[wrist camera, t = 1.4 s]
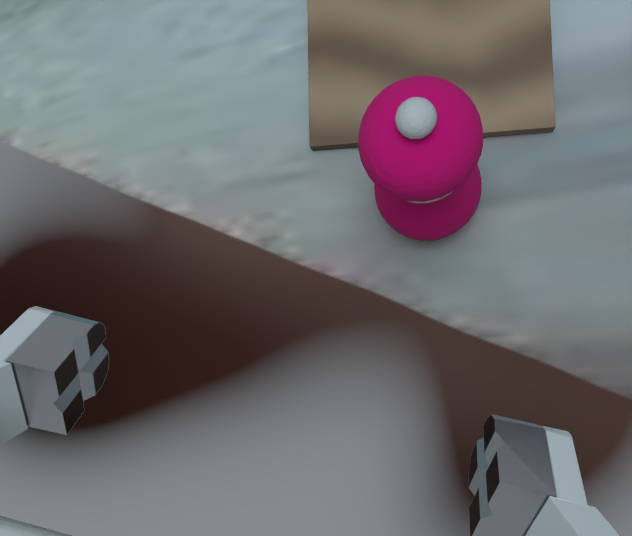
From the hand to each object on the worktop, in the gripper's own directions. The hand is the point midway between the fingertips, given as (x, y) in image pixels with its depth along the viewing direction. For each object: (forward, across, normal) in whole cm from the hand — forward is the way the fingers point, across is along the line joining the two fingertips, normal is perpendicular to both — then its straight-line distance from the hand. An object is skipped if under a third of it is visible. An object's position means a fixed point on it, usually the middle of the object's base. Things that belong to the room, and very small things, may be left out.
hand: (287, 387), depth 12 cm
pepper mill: (+32, -4, +10) cm, 34 cm away
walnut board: (+42, 0, -3) cm, 42 cm away
